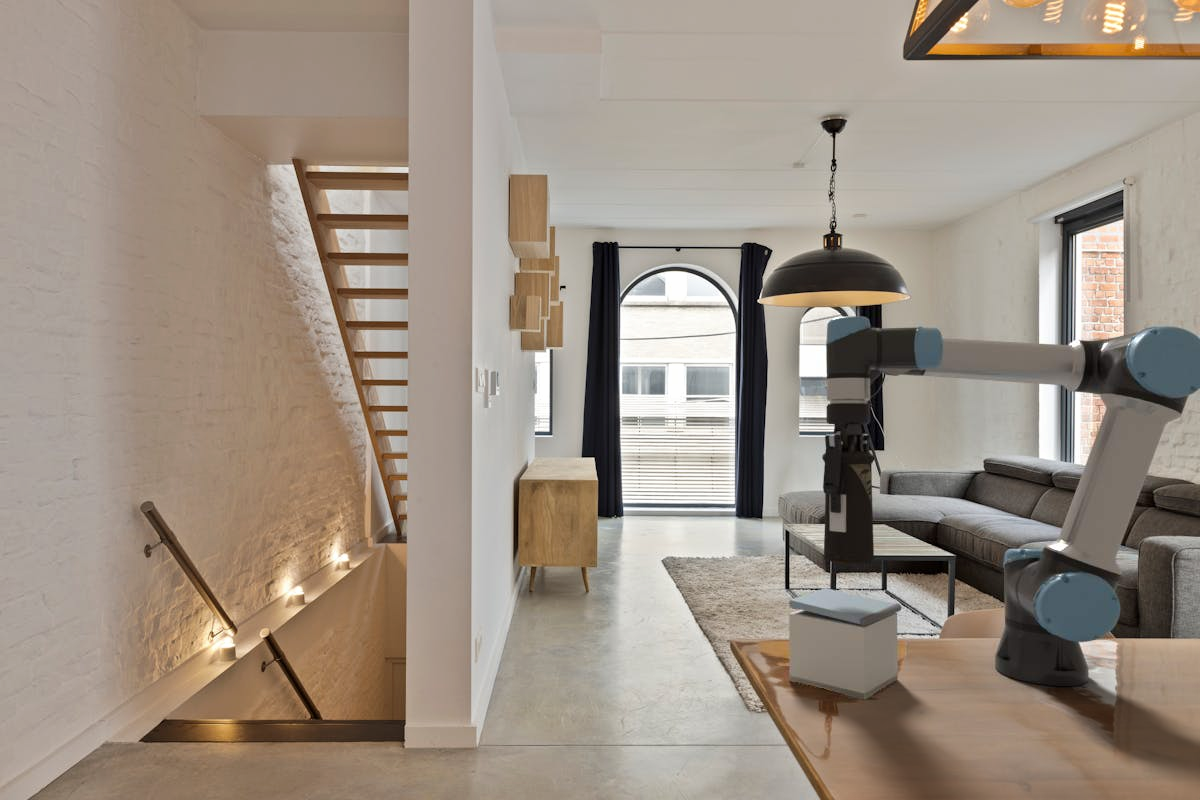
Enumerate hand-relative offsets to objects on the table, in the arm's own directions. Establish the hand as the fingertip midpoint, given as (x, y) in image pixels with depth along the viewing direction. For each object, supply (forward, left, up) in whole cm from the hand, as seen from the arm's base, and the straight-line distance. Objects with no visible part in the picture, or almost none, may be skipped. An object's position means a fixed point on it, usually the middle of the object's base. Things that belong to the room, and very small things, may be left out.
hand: (848, 528), depth 139 cm
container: (0, 0, -6) cm, 6 cm away
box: (+1, 0, -27) cm, 27 cm away
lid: (+1, 0, -15) cm, 15 cm away
